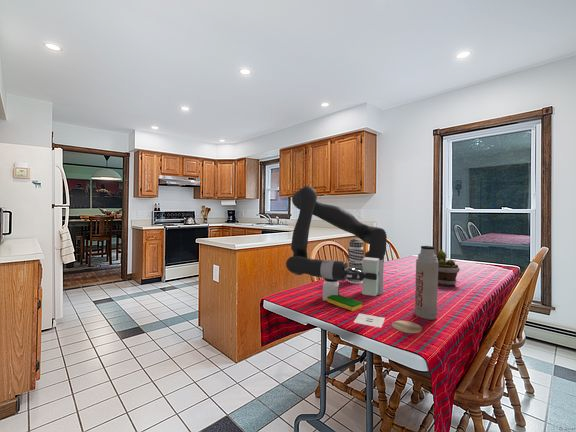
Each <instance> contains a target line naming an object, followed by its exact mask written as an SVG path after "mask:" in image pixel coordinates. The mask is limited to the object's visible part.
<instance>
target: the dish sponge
mask: <svg viewBox="0 0 576 432" xmlns="http://www.w3.org/2000/svg"><path fill="white" fill-rule="evenodd" d="M326 302H327V303H330V304H332V305H335V306H337V307H339V308H343V309H345V310H349V311H353V312H354V311H356V310H359V309H361V308H363V302H362V301H360V300H357V299H353V298H351V297H348V296H344V295H341V294H339V295H331V296H328V297H327V301H326Z"/></svg>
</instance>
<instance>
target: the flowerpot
mask: <svg viewBox="0 0 576 432" xmlns="http://www.w3.org/2000/svg"><path fill="white" fill-rule="evenodd" d="M435 255H436V256H437V261H438V286H443V287H453V286H455V285H456V284H457V277H458V273H459V272H460V267H459V265H458V264H456V261H455V260H454V259H452V257H451V258H449V259H448V256H447V253H446V252H445V251H444V250H443V249H440V250H438V251H437V252H436V253H435Z"/></svg>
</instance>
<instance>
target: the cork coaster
mask: <svg viewBox="0 0 576 432" xmlns="http://www.w3.org/2000/svg"><path fill="white" fill-rule="evenodd" d="M391 327H392V328H393V329H395V330H396V331H399V332H402V333H405V334H419V333H421V332H422V330H423V328H422V326H421V325H419V324H417V323H415V322H413V321H408V320H395V321H392V322H391Z"/></svg>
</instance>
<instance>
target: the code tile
mask: <svg viewBox="0 0 576 432" xmlns="http://www.w3.org/2000/svg"><path fill="white" fill-rule="evenodd" d="M385 321H386V317H382V316H375V315H371V314H364V313H360V312H359V313H358V315H357V316H356V318H355V319H354V320H353V323H355V324H360V325H365V326H370V327H374V328H375V327H376V328H382V327H383V325H384V322H385Z"/></svg>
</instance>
